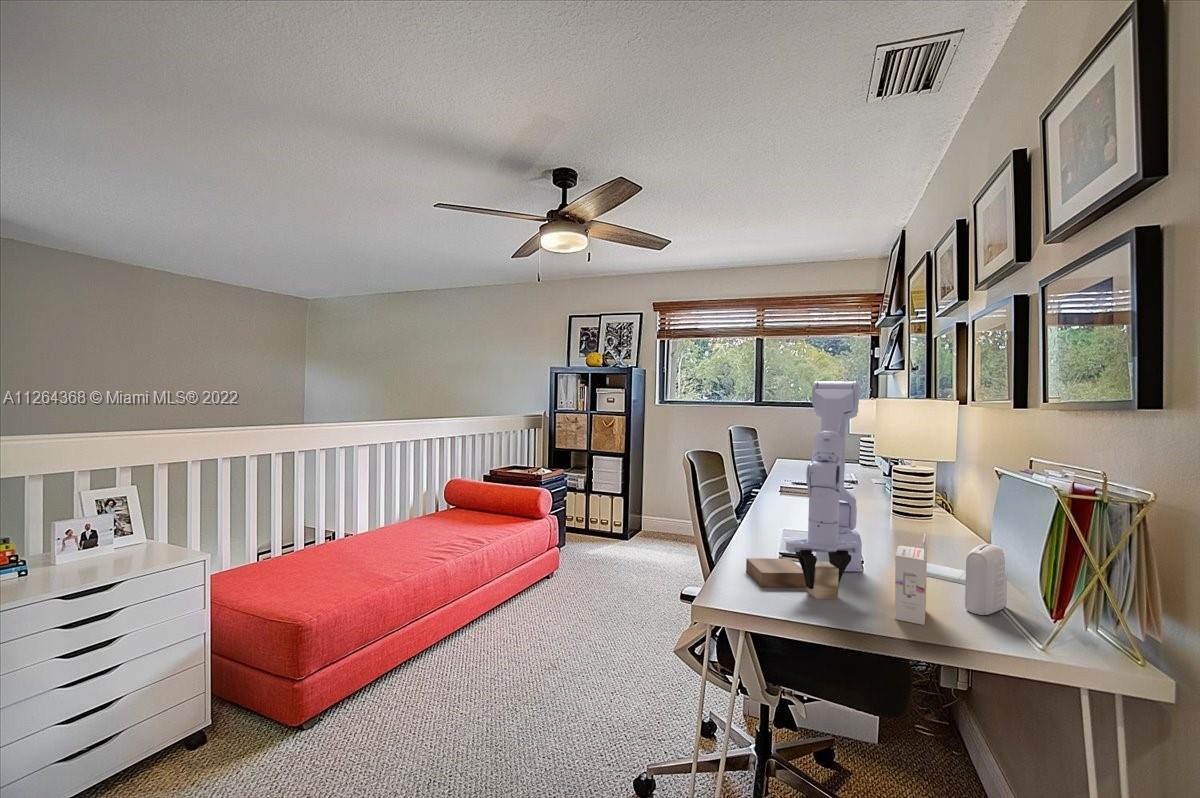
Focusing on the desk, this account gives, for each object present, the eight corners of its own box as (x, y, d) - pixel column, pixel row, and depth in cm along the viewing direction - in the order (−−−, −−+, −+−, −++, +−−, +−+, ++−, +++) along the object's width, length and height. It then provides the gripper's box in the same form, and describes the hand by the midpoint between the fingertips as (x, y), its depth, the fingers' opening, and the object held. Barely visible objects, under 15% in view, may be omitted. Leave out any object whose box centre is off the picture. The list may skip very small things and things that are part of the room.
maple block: (827, 590, 111) (827, 561, 111) (837, 598, 106) (838, 568, 106) (806, 590, 111) (806, 561, 111) (815, 598, 106) (816, 568, 106)
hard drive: (902, 566, 125) (965, 579, 117) (911, 559, 131) (972, 571, 123) (902, 573, 125) (965, 586, 117) (911, 565, 131) (972, 578, 123)
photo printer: (984, 600, 107) (986, 538, 107) (1010, 607, 104) (1011, 543, 104) (961, 610, 102) (962, 545, 102) (987, 618, 98) (988, 551, 98)
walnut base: (789, 571, 122) (789, 558, 122) (808, 587, 112) (808, 573, 112) (746, 571, 122) (746, 558, 122) (761, 586, 112) (761, 572, 112)
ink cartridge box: (896, 604, 104) (897, 529, 104) (925, 610, 101) (927, 533, 101) (893, 619, 97) (895, 538, 97) (925, 626, 94) (927, 542, 94)
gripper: (796, 524, 104) (794, 594, 104) (869, 525, 105) (867, 594, 105) (782, 516, 111) (780, 581, 111) (850, 517, 112) (848, 582, 112)
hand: (821, 587), depth 108 cm, fingers closed on maple block, 4 cm apart
